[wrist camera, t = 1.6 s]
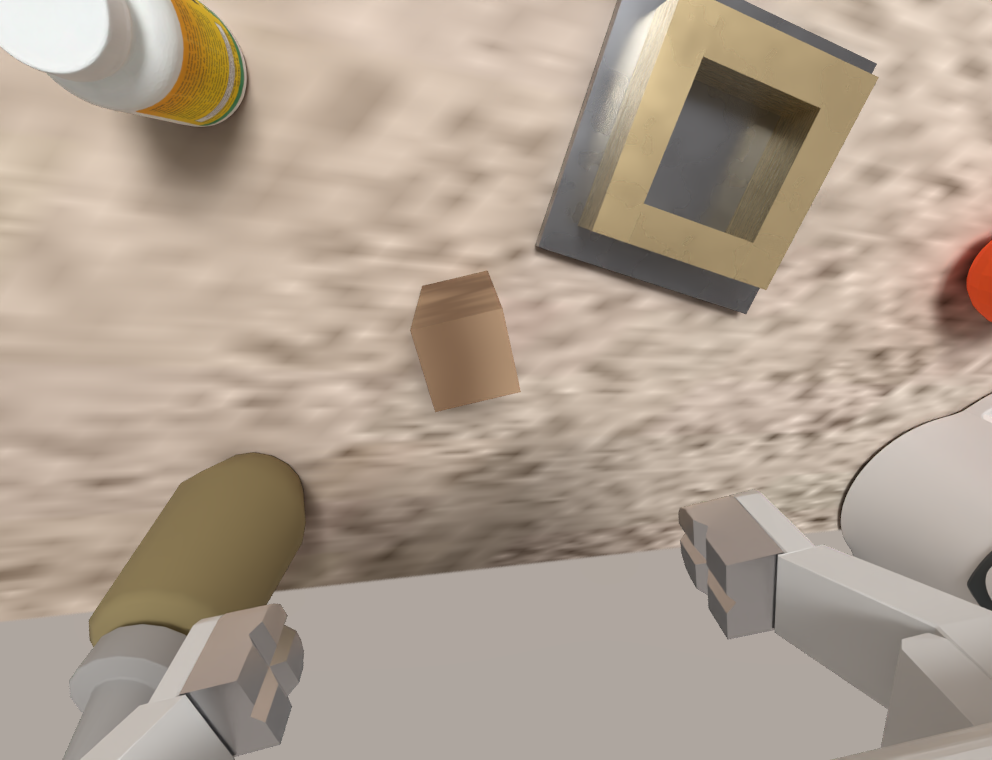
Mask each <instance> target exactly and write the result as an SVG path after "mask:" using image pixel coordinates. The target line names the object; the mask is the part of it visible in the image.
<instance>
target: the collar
mask: <svg viewBox="0 0 992 760" xmlns="http://www.w3.org/2000/svg"><path fill="white" fill-rule="evenodd" d="M876 65H877V64H876V63H874V62H872V61H870V60H868V59H866V58H864V57H861V56H859V55H857V54H855V53H853V52H851V51H849V50H847V49H845V48H843V47H840V46H838V45H836V44H834V43H832V42H830V41H828V40H826V39H824V38H822V37H820V36H817V35H815V34H813V33H811V32H809V31H807V30H805V29H803V28H801V27H799V26H796V25H794V24H792V23H790V22H788V21H786V20H784V19H782V18H780V17H778V16H776V15H773V14H771V13H769V12H767V11H765V10H763V9H761V8H759V7H757V6H755V5H752V4H750V3H748V2H746V1H744V0H617V3H616V6H615V9H614V12H613V15H612V18H611V21H610V24H609V27H608V30H607V33H606V36H605V39H604V42H603V45H602V48H601V51H600V54H599V57H598V60H597V63H596V66H595V69H594V72H593V75H592V78H591V81H590V84H589V87H588V90H587V93H586V96H585V99H584V102H583V105H582V108H581V111H580V114H579V117H578V120H577V123H576V126H575V129H574V132H573V135H572V137H571V140H570V143H569V146H568V149H567V152H566V155H565V158H564V161H563V164H562V167H561V170H560V173H559V176H558V179H557V182H556V185H555V188H554V191H553V194H552V197H551V200H550V203H549V206H548V209H547V212H546V215H545V218H544V221H543V224H542V227H541V230H540V233H539V236H538V239H537V242H536V245H537V246H538V247H540V248H543V249H546V250H549V251H553V252H556V253H559V254H562V255H565V256H568V257H571V258H574V259H577V260H580V261H583V262H587V263H590V264H593V265H596V266H599V267H602V268H605V269H608V270H611V271H614V272H617V273H621V274H624V275H627V276H630V277H633V278H636V279H639V280H642V281H645V282H648V283H651V284H655V285H658V286H661V287H664V288H667V289H670V290H673V291H676V292H679V293H682V294H685V295H689V296H692V297H695V298H698V299H701V300H704V301H707V302H710V303H713V304H716V305H719V306H723V307H726V308H729V309H732V310H735V311H738V312H741V313H744V314H746V313H747V311H748V310H749V308H750V306H751V304H752V302H753V300H754V298H755V296H756V294H757V292H758V290H759V289H760V288H762V289H765V290H766V289H767V287H768V285H769V284H770V282H771V280H772V278H773V276H774V274H775V272H776V270H777V268H778V267H779V265H780V263H781V261H782V259H783V257H784V255H785V253H786V251H787V250H788V248H789V246H790V244H791V242H792V240H793V238H794V236H795V234H796V232H797V231H798V229H799V227H800V225H801V223H802V221H803V219H804V217H805V215H806V214H807V212H808V210H809V208H810V206H811V204H812V202H813V200H814V198H815V197H816V195H817V193H818V191H819V189H820V187H821V185H822V183H823V181H824V179H825V178H826V176H827V174H828V172H829V170H830V168H831V166H832V164H833V162H834V161H835V159H836V157H837V155H838V153H839V151H840V149H841V147H842V145H843V144H844V142H845V140H846V138H847V136H848V134H849V132H850V130H851V128H852V127H853V125H854V123H855V121H856V119H857V117H858V115H859V113H860V111H861V109H862V108H863V106H864V104H865V102H866V100H867V98H868V96H869V94H870V92H871V91H872V89H873V87H874V85H875V83H876V81H877V79H878V77H877V76H875V75H873V74H872V72H873V70H874V68H875V67H876Z"/></svg>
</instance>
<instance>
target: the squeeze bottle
mask: <svg viewBox="0 0 992 760" xmlns="http://www.w3.org/2000/svg"><path fill="white" fill-rule="evenodd" d="M304 529H305V509H304V495H303V488H302V485H301V482H300V479H299V476H298V475H297V474H296V473H295V472H294V471H293V470H292V469H291V467H290V466H289V465H288V464H286V463H284V462H283V461H281V460H279V459H277V458H275V457H273V456H270V455H265V454H260V453H254V452H253V453H246V454H239V455H235V456H233V457H231V458H229V459H227V460H225V461H223V462H220V463H218V464H216V465H214V466H212V467H210V468H208V469H206V470H204V471H202V472H200V473H198V474H196V475H195V476H193V477H191V478H189V479H188V480H186V481H184V482H182V483H181V484H180V485H179V487H178V488H177V490H176V491H175V493H174V494H173V496H172V497H171V499H170V500H169V502H168V503H167V505H166V506H165V508H164V509H163V511H162V512H161V514H160V515H159V516H158V518H157V519H156V521H155V522H154V524H153V525H152V527H151V528H150V530H149V531H148V533H147V534H146V536H145V537H144V539H143V540H142V542H141V543H140V545H139V546H138V548H137V549H136V551H135V552H134V554H133V555H132V557H131V558H130V560H129V561H128V562H127V564H126V565H125V567H124V568H123V570H122V571H121V573H120V574H119V576H118V577H117V579H116V580H115V582H114V583H113V585H112V586H111V588H110V589H109V591H108V592H107V594H106V595H105V597H104V598H103V600H102V601H101V603H100V604H99V606H98V607H97V609H96V610H95V612H94V613H93V615H92V616H91V618H90V619H89V636H90V641H91V643H92V645H93V649H92V650H91V652H90V653H89V654H88V655H87V657H86V658H85V659H84V661H83V662H82V663H81V665H80V666H79V667H78V669H77V670H76V672H75V673H74V675H73V676H72V677H71V679H70V681H69V685H70V697H71V699H72V700H73V702H74V703H75V704H76V706H77V707H78V708H79V710H80V711H81V712H83V714H82V717H81V719H80V721H79V723H78V726H77V728H76V730H75V732H74V734H73V737H72V739H71V741H70V743H69V746H68V748H67V750H66V752H65V755H64V757H63V759H62V760H80V759H81V758H82V757H83V756H85V755H86V754H87V753H88V752H89V751H90V750H91V749H92V748H93V747H94V746H96V745H97V744H98V743H99V742H100V741H101V740H102V739H103V738H104V737H105V736H106V735H108V734H109V733H110V732H111V731H112V730H113V729H114V728H115V727H116V726H117V725H119V724H120V723H121V722H122V721H123V720H124V719H125V718H126V717H127V716H128V715H130V714H131V713H132V712H133V711H134V710H135V709H136V708H137V707H138V706H139V705H143V704H147V703H148V702H149V701H150V699H151V697H152V695H153V694H154V692H155V690H156V689H157V687H158V685H159V683H160V682H161V680H162V678H163V676H164V675H165V673H166V671H167V670H168V668H169V666H170V664H171V663H172V661H173V659H174V658H175V656H176V654H177V652H178V651H179V649H180V647H181V645H182V644H183V642H184V640H185V639H186V637H187V635H188V633H189V632H190V630H191V628H192V627H193V625H194V624H196V623H197V622H198V621H200V620H201V619H204V618H209V617H214V616H219V615H224V614H226V613H231V612H235V611H240V610H245V609H250V608H255V607H259V606H264V605H267V603H268V601H269V600H270V598H271V596H272V594H273V593H274V591H275V589H276V587H277V586H278V584H279V582H280V580H281V579H282V577H283V575H284V573H285V572H286V570H287V568H288V566H289V565H290V563H291V561H292V559H293V558H294V556H295V554H296V552H297V551H298V549H299V547H300V545H301V544H302V541H303V535H304Z"/></svg>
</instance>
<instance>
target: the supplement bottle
mask: <svg viewBox="0 0 992 760" xmlns="http://www.w3.org/2000/svg"><path fill="white" fill-rule="evenodd" d="M0 47H1V48H3V49H4V50H5V51H6V52H8V53H9V54H10V55H11V56H13V57H14V58H16V59H17V60H19V61H20V62H22V63H24V64H26V65H28V66H30V67H32V68H34V69H37V70H39V71H42V72H45V73H47V74H48V75H49V76H50V77H51V78H52V79H53V80H54V81H55V82H56V83H58V84H59V85H60V86H61V87H63V88H64V89H66V90H67V91H69V92H70V93H72V94H73V95H75V96H77V97H78V98H80V99H82V100H84V101H87V102H89V103H91V104H94V105H97V106H100V107H103V108H106V109H111V110H115V111H120V112H125V113H130V114H135V115H139V116H145V117H150V118H154V119H159V120H163V121H168V122H173V123H177V124H181V125H188V126H194V127H206V126H213V125H216V124H219V123H221V122H223V121H224V120H226V119H227V118H228V117H230V116H231V115H232V114H233V113H234V112H235V111H236V110H237V108H238V107H239V105H240V104H241V102H242V99H243V97H244V94H245V90H246V83H247V72H246V66H245V60H244V56H243V53H242V51H241V49H240V47H239V45H238V43H237V41H236V39H235V37H234V36H233V34H232V33H231V31H230V30H229V29H228V27H227V26H226V25H225V23H224V22H223V21H222V20H221V19H220V18H219V17H218V16H217V15H216V14H215V13H214V12H212V11H211V10H210V9H209V8H207V7H206V6H205V5H203V4H202V3H201V2H199V1H198V0H0Z"/></svg>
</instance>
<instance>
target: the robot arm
mask: <svg viewBox="0 0 992 760" xmlns="http://www.w3.org/2000/svg"><path fill="white" fill-rule="evenodd" d="M678 515H679V524H680V526H681V527H682V529H683V530H684V532H685V534H684V536H683V537H682V539H681V540H680V544H681V553H682V557H683V560H684V563H685V567H686V569H687V571H688V574H689V576H690V578H691V580H692V581H693V583H694V585H695V587H696V588H697V589H698V590H700V591H702V592H703V593H705V594H707V595H708V606H709V610H710V611H711V613H712V615H713V616H714V618H715V619H716V621H717V623H718V624H719V626H720V628H721V629H722V631H723V633H724V634H725V635H726V637H727V639H732V638H737V637H742V636H747V635H752V634H757V633H762V632H767V631H771V630H775V633H776V634H778V635H779V636H781V637H782V638H784V639H785V640H786V641H788V642H789V643H791V644H792V645H794V646H795V647H797V648H798V649H800V650H801V651H803V652H804V653H806V654H807V655H809V656H810V657H811V658H813V659H815V660H816V661H817V662H819V663H820V664H822V665H823V666H825V667H826V668H828V669H829V670H831V671H832V672H834V673H835V674H837V675H838V676H840V677H841V678H842V679H844V680H845V681H847V682H848V683H850V684H851V685H853V686H854V687H856V688H857V689H859V690H860V691H862V692H863V693H865V694H866V695H868V696H869V697H871V698H872V699H873V700H875V701H876V702H878V703H879V704H881V705H882V706H884V707H885V708H887V709H888V712H887V718H886V723H885V728H884V733H883V738H882V743H881V748H878V749H874V750H870V751H866V752H861V753H857V754H853V755H849V756H845V757H840V758H836V759H832V760H992V394H990V395H988V396H986V397H985V398H983V399H981V400H980V401H978V402H976V403H975V404H973V405H972V406H970V407H969V408H967V409H965V410H964V411H962V412H959V413H957V414H954V415H951V416H947V417H944V418H940V419H937V420H934V421H931V422H928V423H926V424H923V425H921V426H919V427H917V428H914V429H913V430H911V431H909V432H907V433H905V434H904V435H902V436H900V437H899V438H897V439H896V440H894V441H893V442H891V443H890V444H889V445H887V446H886V447H885V448H884V449H882V450H881V451H880V452H879V453H878V454H877V455H876V456H875V457H874V458H873V459H872V460H871V461H870V462H869V463H868V464H867V465H866V466H865V467H864V469H863V470H862V471H861V472H860V474H859V475H858V476H857V478H856V479H855V481H854V482H853V484H852V486H851V488H850V490H849V492H848V494H847V496H846V498H845V501H844V504H843V508H842V513H841V530H842V534H843V536H844V539H845V541H846V543H847V545H848V546H849V547H850V549H851V551H852V553H853V556H852V555H849V554H846V553H844V552H841V551H839V550H836V549H834V548H831V547H829V546H826V545H819V546H815V545H814V544H813V543H812V542H811V541H810V540H809V539H808V538H807V537H806V536H805V535H804V534H803V533H802V532H801V531H800V530H799V529H798V528H797V527H796V526H795V525H794V524H793V523H792V522H791V521H790V520H789V519H788V518H787V517H786V516H785V515H784V514H783V513H782V512H781V511H779V510H778V509H777V508H776V507H775V506H774V505H773V504H772V503H771V502H770V501H769V500H768V499H767V498H766V497H765V496H764V495H763V494H762V493H761V492H760V491H758V490H756V489H752V490H748V491H744V492H740V493H736V494H732V495H729V496H725V497H721V498H717V499H713V500H709V501H705V502H701V503H696V504H692V505H688V506H684V507H680V509H679V513H678ZM286 619H287V614H286V612H285V611H284V609H283V608H282V606H281V605H280V604H269V605H264V606H259V607H255V608H250V609H245V610H240V611H235V612H231V613H226V614H224V615H219V616H214V617H209V618H204V619H201V620H200V621H198V622H197V623H196V624H194V625H193V627H192V628H191V630H190V632H189V633H188V635H187V637H186V639H185V640H184V642H183V644H182V645H181V647H180V649H179V651H178V652H177V654H176V656H175V658H174V659H173V661H172V663H171V664H170V666H169V668H168V670H167V671H166V673H165V675H164V676H163V678H162V680H161V682H160V683H159V685H158V687H157V689H156V690H155V692H154V694H153V695H152V697H151V699H150V701H149V702H148V703H147V704H143V705H139V706H138V707H137V708H136V709H135V710H134V711H133V712H132V713H131V714H130V715H128V716H127V717H126V718H125V719H124V720H123V721H122V722H121V723H120V724H119V725H117V726H116V727H115V728H114V729H113V730H112V731H111V732H110V733H109V734H108V735H106V736H105V737H104V738H103V739H102V740H101V741H100V742H99V743H98V744H97V745H96V746H94V747H93V748H92V749H91V750H90V751H89V752H88V753H87V754H86V755H85V756H83V757H82V758H81V759H80V760H235V759H234V757H236V756H239V755H243V754H247V753H251V752H254V751H258V750H262V749H265V748H269V747H273V746H277V745H280V744H281V741H282V737H283V734H284V731H285V727H286V724H287V721H288V718H289V714H290V711H291V708H292V706H291V703H290V701H289V698H288V695H289V694H290V693H291V692H292V690H293V689H294V688H295V687H296V686H297V684H298V683H299V681H300V677H301V674H302V670H303V658H304V650H303V646H302V642H301V639H300V637H299V635H298V633H297V631H295V630H293V629H292V628H290V627H287V626H286V625H284V624H285V622H286Z"/></svg>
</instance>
